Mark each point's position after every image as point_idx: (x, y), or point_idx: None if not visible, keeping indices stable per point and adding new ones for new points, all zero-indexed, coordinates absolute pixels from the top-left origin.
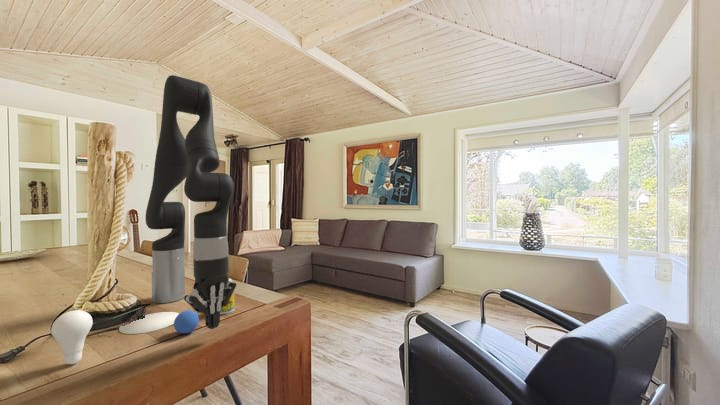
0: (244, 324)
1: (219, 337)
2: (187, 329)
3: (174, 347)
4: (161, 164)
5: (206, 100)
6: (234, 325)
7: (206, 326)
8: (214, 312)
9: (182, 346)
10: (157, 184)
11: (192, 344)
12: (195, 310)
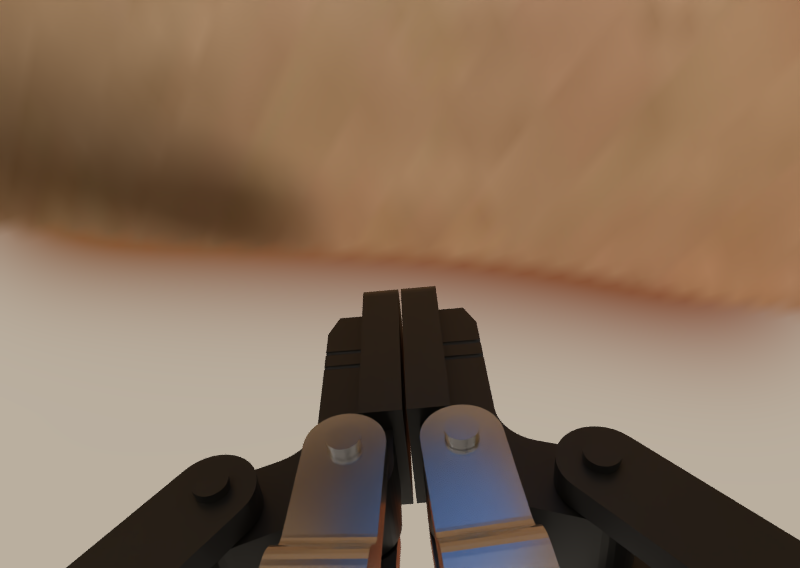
0: (792, 211)
1: (467, 246)
2: None
3: (94, 58)
4: None
5: None
6: (744, 140)
7: (341, 320)
8: (416, 481)
9: (161, 112)
10: None
11: (244, 159)
12: (145, 503)
